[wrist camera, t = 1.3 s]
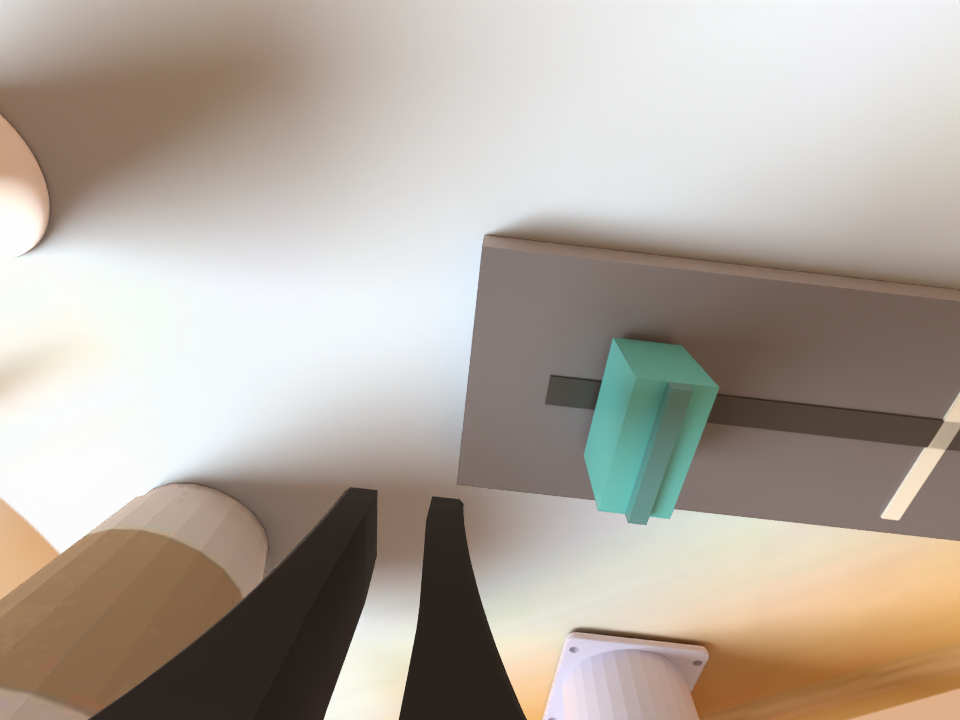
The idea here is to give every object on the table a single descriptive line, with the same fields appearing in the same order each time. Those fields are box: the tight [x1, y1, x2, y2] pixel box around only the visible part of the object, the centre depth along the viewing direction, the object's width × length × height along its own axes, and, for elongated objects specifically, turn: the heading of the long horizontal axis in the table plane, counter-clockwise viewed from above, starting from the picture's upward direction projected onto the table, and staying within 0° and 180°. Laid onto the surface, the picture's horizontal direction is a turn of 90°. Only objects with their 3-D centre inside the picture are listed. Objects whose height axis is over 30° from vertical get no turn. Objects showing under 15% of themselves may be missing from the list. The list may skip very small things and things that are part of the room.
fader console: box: [457, 235, 960, 541], centre depth 18 cm, size 10×24×2 cm, turn 84°
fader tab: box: [584, 338, 719, 525], centre depth 15 cm, size 5×2×3 cm, turn 174°
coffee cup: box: [0, 483, 269, 720], centre depth 17 cm, size 11×11×15 cm
